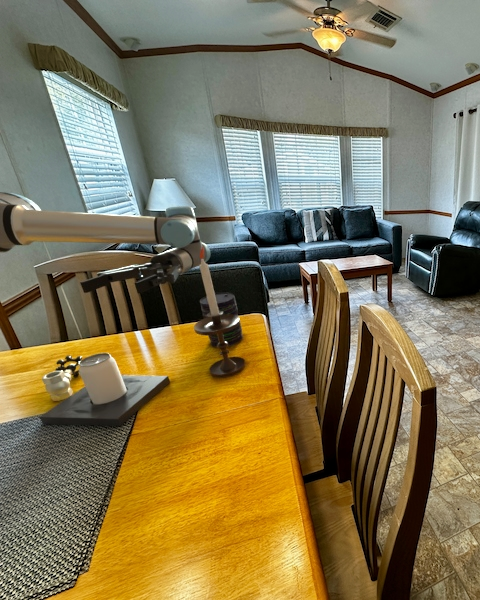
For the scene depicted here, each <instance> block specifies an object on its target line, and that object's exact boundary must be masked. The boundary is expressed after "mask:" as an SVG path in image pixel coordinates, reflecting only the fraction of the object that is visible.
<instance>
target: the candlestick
mask: <svg viewBox="0 0 480 600" xmlns="http://www.w3.org/2000/svg"><path fill="white" fill-rule="evenodd" d="M203 252H204V249H203V247H202V249H201V253H200V258H201V265H199V266H198V267H199V270H200V274H201V279H202V282H203V287H204V291H205V294H206V296H207V299H208V303H209V307H210V311H211V312H210V313H208V314H207V316H208V317H207V318H202V319H201V320H199V321H197V322H196V323H195V324H194V326H193V329H194V332H195V334H196V335H199V336H208V335H218V339H219V343H218V344H217V347H216V348H218V350H220V352H219V356H222V358H221V359H219V360H217V361H215V362H214V363H212V365H210V367H209V373H210V376H212V377H214V378H227V377H231V376H234V375H237V374H238V373H240V372H241V371H242V370H244V369H245V367H246V360H245V359H244V358H243V357H241V356H229V354H230V350H229V349H228V347H229V346H228V342H225V341H224V336H223V333H225V332H228V331H230V330H233V329H234V328H236V327H237V326H238V325H239V324H240V323H241V320H240V319H241V318H240V317H239V315H238V314H237V315H238V316H237V315H233V314H223V313H224V312H223V311H219V310H218V306H217V302H216V297H215V294H216V292H215V290H214V285H213V281H212V280H213V279H212V277H211V272H210V268H209V264H208V263H207V262H204V259H202V258H203V254H204V253H203Z"/></svg>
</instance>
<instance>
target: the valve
mask: <svg viewBox="0 0 480 600" xmlns="http://www.w3.org/2000/svg"><path fill="white" fill-rule="evenodd" d="M82 359H83V356H81V355H78V356H77V357H76V358H73V356H72V355H70V354H68V355H66V356H65V357H64V360H63V359H58V360H57V361H56V365H57V367H55V369H54V371H51V372H48V373H46V374H44V375H43V376H42V378H41V381H42V383H43V384H44V385H45V386H44V388H45V391H46V392H47V393H48V394H49V395H50V396H49V397H50V399H51V401H53V402H60V401H61V402H62V401H64V400H65V399H67V398H68V397H70V396H71V395H73V394H74V391H73V388H72V387H71V381H72V380H73V379H72V378H75V379H76V378H79V376H80V373H79V369H78V370H77V368H78V366H79V362H80V361H81V360H82ZM70 362H73V363H70ZM67 363H70V364H68V365H66V364H67ZM59 365H60V366H59ZM65 365H66V366H65Z"/></svg>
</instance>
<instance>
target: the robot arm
mask: <svg viewBox="0 0 480 600" xmlns="http://www.w3.org/2000/svg"><path fill="white" fill-rule="evenodd" d="M165 215H166V217H160V216H159V217H157V216H143V215H129V214H128V215H125V214H107V213H93V212H92V213H91V212H74V211H58V210H57V211H56V210H42V209H41V208H40V207H39V205H37V204H36V203H35V202H34V201H33V200H31V199H29V198H27V197H26V196H23V195H21V194H18V193H13V192H7V191H6V192H5V191H0V253H2V254H3V253H8V252H10V251H11V250H12V249H13V248H15V247H16V246H30V245H31V244H33V243H34V242H44V243H45V242H46V243H47V242H48V243H49V242H50V243H86V244H87V243H90V244H127V245H130V244H133V245H134V244H135V245H136V244H138V245H165V246H167V245H168V246H170V247H172V249H169V250H166V251H164V252H161V253H157V254H155V255H153V256H152V257H151V258H150V260H149V262H147V263H144V264H140V265H139V263H137V264H136V263H134V264H131V265H128V266H124V267H120V268H115V269H110V270H105V271H100V272H97V273H96V276H95V277H92V278H91V277H90V278H88V279H86V280H83V281H80V282H79V285H80V286H81V289H82V291H83V293H84V294H88V293H90V292H93V291H95V290H99V289H101V288H103V287H109V286H110V284H111V283H115V282H116V283H117V282H121V281H126V280H131V279H137V280H138V281H136V282H134V284H133V285H134V286H135V289H136V293H137V294H143V293H145V292H147V291H149V290H151V289H153V288H156V287H158V286H160V285H165V284H167V283H169V284H175V283H176V281H177V279H178V277H179V276H182V275H183V274H184V273H185V272H188V271H190V270H192V269H194V268H196V267H200V266H199V265H201V258H200V253H201V249H202V247H203V249H204V252H203V253H204V254H203V258H202V259H204V262H205V263H207V262H208V261H209V260H210V258H211V249H210V248H209V246H208V245H207V244H206V243H204V242H202V240H201V237H200V233H199V227H198V223H197V218H196V215H195V211H194V209H193V207H191V206H189V205H188V206H187V205H186V206H184V205H183V206H169V207H166V209H165Z"/></svg>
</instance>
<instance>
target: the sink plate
mask: <svg viewBox="0 0 480 600" xmlns="http://www.w3.org/2000/svg"><path fill="white" fill-rule="evenodd" d="M121 376H122V379H123V382H124V384H125V387H126V389H127V392H126V393H125V394H124V395H123V396H121V397H120V398H118V399H116V400H114V401H111V402H108V403H104V404H93V402H92V400H91V398H90V396H89V393H88V391H87V389H86V387H85V386H83V387H82V388H80V389H79V390H77V391H76V392H73V394H72V395H71V396H70V397H68V398H67V399H64V400H61V402H60V403H58V404H56V405H55V406H53V407H52V408H50V409H49V410H47V411H45V412H44V413H43V414H41V415H40V416H39V419H40V422H41V423H42V424H43V425H66V426H67V425H69V426H70V425H71V426H72V425H73V426H106V427H107V426H108V427H115V426H116V427H121V426H122V425H123V424H124V423H125V422H127V421H128V420H129V419H130V418H131V417H132V416H134V415H135V414H136V413H137V412H139V410H140V409H142V407H144V406H145V405H147V403H148V402H149V401H150V400H152V399H153V398H154V397H155V396H157V394H159V393H160V392H161V391H162V390H163V389H164V388H166V386H168V385H169V384H170V383H171V380H170V378H169V375H145V374H144V375H143V374H141V375H140V374H121Z"/></svg>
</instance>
